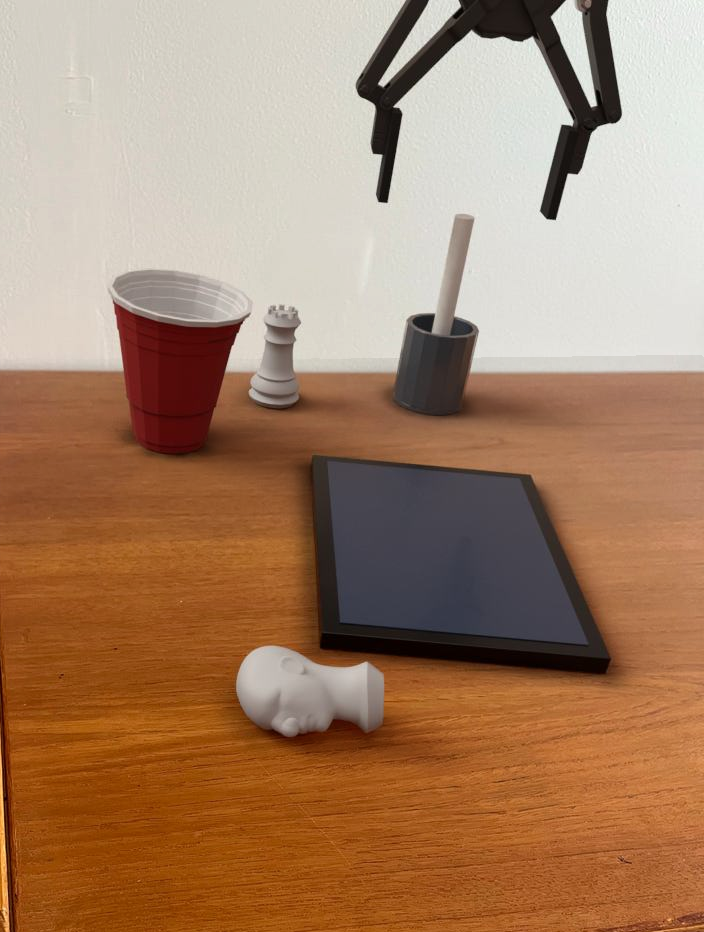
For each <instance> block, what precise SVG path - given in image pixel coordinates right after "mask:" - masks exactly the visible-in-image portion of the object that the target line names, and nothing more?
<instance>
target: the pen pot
mask: <svg viewBox="0 0 704 932" xmlns="http://www.w3.org/2000/svg"><path fill="white" fill-rule="evenodd" d="M435 313H436V312H435ZM435 313H434V312H423V313H416V314H412V315H410V316H408V318H407V319H406V321H405V326H404V332H403V336H402V342H401V348H400V352H399V358H398V364H397V368H396V373H395V374H396V375H395V380H394V385H393V393H392V394H393V395H392V398H393V401H394V402H395V403H396V404H398V406H400V407H402V408H404V409H406V410H408V411H411V412H415V413H418V414H424V415H431V416H446V415H452V414H456V413H458V412H459V411H461V409H462V406H463V403H464V401H465V400H464V399H465V397H466V391H467V386H468V383H469V378H470V374H471V369H472V365H473V360H474V355H475V352H476V346H477V343H478V339H479V333H480V330H479V327H478V326H477V325H476V324H474V323H473V322H471V321H470V320H467V319H465V318H462V317H458V316H455V315H454V319H453V324H452V328H451V333H450V336H449V335H439V334H435V333H432V329H433V324H434V319H435Z"/></svg>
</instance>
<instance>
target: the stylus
mask: <svg viewBox="0 0 704 932" xmlns="http://www.w3.org/2000/svg"><path fill="white" fill-rule="evenodd" d="M474 223H475V216H474V215H471V214H468V213H455V215H454V219H453V223H452V229H451V234H450V239H449V244H448V248H447V254H446V259H445V263H444V269H443V274H442V279H441V283H440V288H439V293H438V299H437V304H436V308H435V309H436V310H435V319H434V324H433V329H432V333H435V334H439V335H449V336H450V333H451V328H452V324H453V319H454V316H455V314H456V309H457V304H458V299H459V296H460V295H459V294H460V290H461V286H462V285H461V284H462V281H463V276H464V271H465V266H466V261H467V256H468V252H469V247H470V242H471V237H472V234H473V228H474Z"/></svg>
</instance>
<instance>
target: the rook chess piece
mask: <svg viewBox="0 0 704 932" xmlns="http://www.w3.org/2000/svg"><path fill="white" fill-rule="evenodd" d="M285 306H286V304H282V303H281V304H280V303H279V304H278V309H276V308H277V305H276V304H271V305H270V306H269V307H268V309H267V313H266V314H265V315H264V316H263V317H262V321H263V323H264V324H265V327H266V328H267V329H266V332H265V334H263V339H264V341H265V342H264V351H263V353H262V357H261V362H260V364H259V367H258V368H257V369H256V373H255V374H254V375H253V376H252V377H251V379H250V381H249V382H250V386H251V388H250V389H249V390H248V396H249V397H250V399H251V401H252V402H254V403H255V404H257V405H258V406H261V407H265V408H268V409H287V408H290V407H292V406H293V405H295V403H297V401H298V400H299V399H300V396H299V393H297V392H298V390H299V389H300V383H299V380H298V379H297V377H296V376H297V374H296V371H295V370H294V345H295V343H296V341H297V338H296V335H295V333H296V330H297V329H298V328H299V326H300V325H301V324H302V320H301V319H300V318H299V309H298V308H296V307H295V306H293V305H289V306H288V309H287V310H286V309H285Z"/></svg>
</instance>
